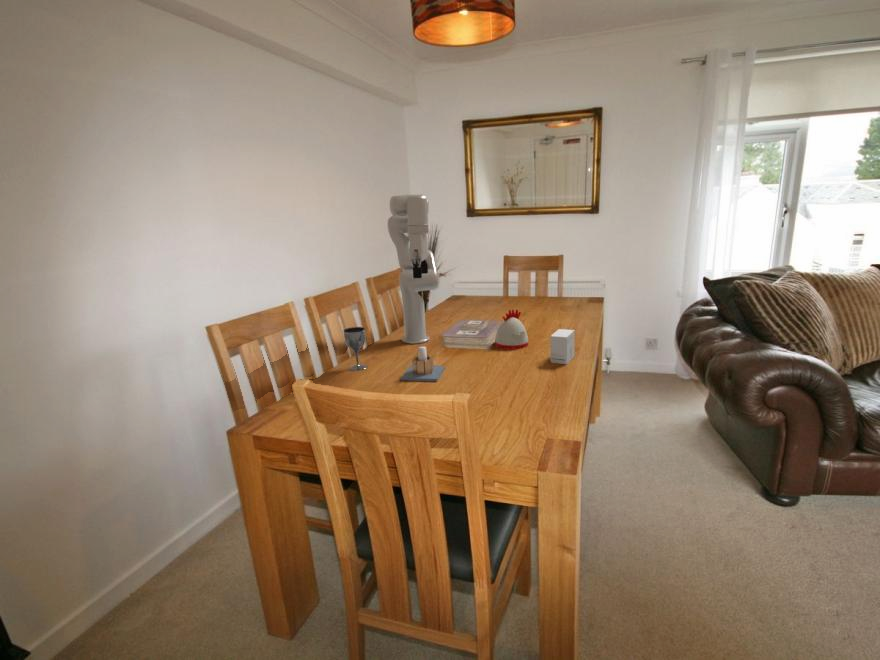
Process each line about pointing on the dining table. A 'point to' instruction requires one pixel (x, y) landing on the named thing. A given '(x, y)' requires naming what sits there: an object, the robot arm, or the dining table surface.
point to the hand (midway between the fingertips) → (420, 275)
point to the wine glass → (355, 344)
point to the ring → (423, 366)
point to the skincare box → (562, 346)
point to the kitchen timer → (511, 332)
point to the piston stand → (430, 377)
